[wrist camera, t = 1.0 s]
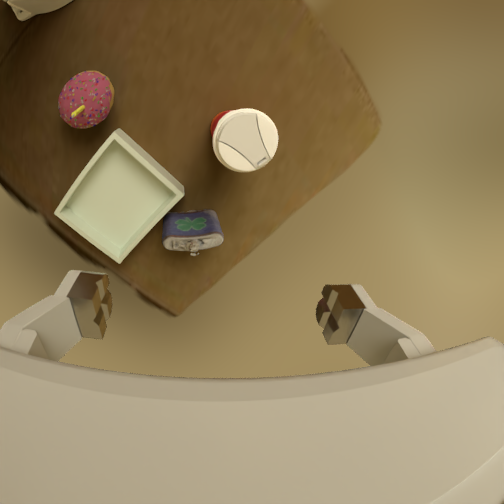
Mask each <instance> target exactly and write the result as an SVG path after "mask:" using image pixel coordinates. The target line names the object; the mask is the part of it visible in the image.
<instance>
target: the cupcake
mask: <svg viewBox="0 0 504 504" xmlns="http://www.w3.org/2000/svg"><path fill="white" fill-rule="evenodd" d="M113 101H114V88H113V86H112V84H111V82H110V80H109V78H108V77H107V76H105V75H104V74H102V73H100V72H98V71H84V72H81V73H79V74H77V75H75V76H74V77H73V78H71V80H69V81H68V82H67V83H66V85H65V86H64V88H63V89H62V91H61V94H60V96H59V102H58V104H59V106H58V108H59V111H60V116H61V117H62V119H63V120H64V121H65V122H66V123H67V124H69V125H70V126H71V127H74V128H79V129H84V128H90V127H93V126H95V125H97V124H98V123H100V122H101V121H103V120H104V119H105V118H106V117H107V115H108V114H109V112H110V109H111V107H112V105H113Z"/></svg>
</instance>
